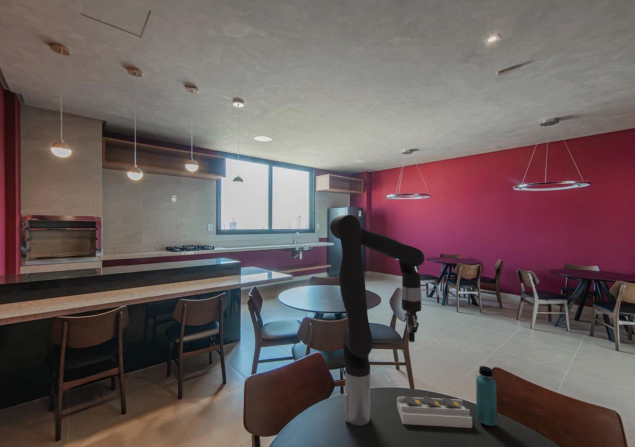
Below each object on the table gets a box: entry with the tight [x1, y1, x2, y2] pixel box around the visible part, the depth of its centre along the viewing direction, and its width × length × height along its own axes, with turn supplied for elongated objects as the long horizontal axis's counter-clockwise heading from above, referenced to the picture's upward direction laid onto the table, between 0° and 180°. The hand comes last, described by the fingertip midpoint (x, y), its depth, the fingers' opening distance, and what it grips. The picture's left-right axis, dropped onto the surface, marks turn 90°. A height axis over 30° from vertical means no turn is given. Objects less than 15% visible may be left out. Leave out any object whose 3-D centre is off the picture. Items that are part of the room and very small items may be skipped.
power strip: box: [396, 396, 473, 429], centre depth 106 cm, size 24×10×5 cm, turn 86°
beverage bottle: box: [475, 365, 498, 427], centre depth 102 cm, size 6×7×20 cm
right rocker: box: [442, 396, 462, 409], centre depth 106 cm, size 5×4×1 cm
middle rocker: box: [423, 395, 441, 408], centre depth 106 cm, size 5×4×1 cm
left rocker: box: [404, 395, 422, 407], centre depth 107 cm, size 5×4×1 cm
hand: (411, 341), depth 114 cm, fingers closed
